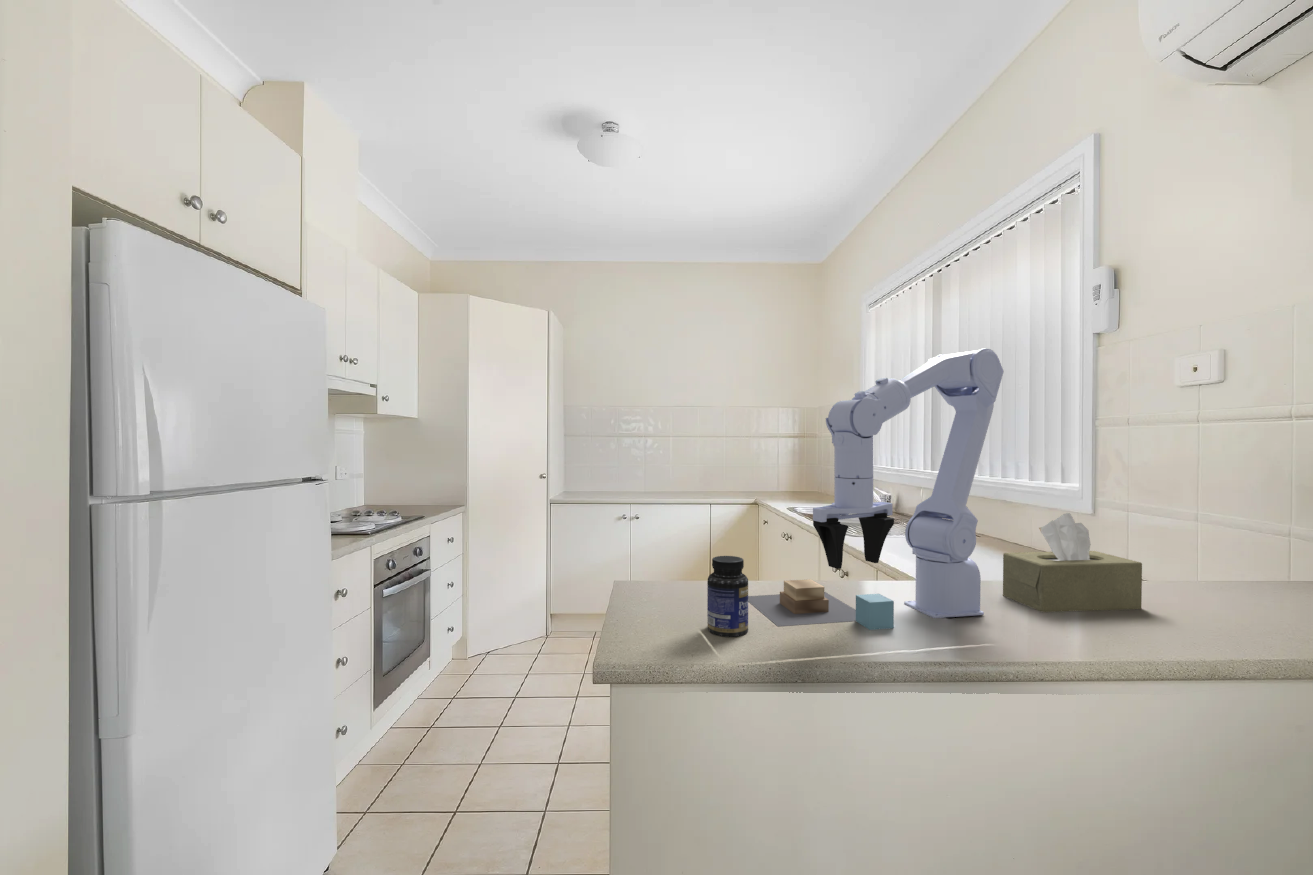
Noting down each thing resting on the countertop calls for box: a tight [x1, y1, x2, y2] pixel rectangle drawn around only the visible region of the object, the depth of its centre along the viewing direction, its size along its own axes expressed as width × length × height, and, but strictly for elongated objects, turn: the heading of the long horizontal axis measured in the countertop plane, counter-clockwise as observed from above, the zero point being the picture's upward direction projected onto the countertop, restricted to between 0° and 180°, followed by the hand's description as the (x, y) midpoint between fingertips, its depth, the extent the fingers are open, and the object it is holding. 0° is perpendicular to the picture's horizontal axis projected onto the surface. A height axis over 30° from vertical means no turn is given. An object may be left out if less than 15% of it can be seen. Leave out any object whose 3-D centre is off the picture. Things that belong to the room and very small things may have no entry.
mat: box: [748, 591, 856, 628], centre depth 99 cm, size 16×16×1 cm
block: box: [855, 593, 895, 631], centre depth 90 cm, size 4×4×4 cm
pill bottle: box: [706, 555, 749, 638], centre depth 88 cm, size 6×6×11 cm
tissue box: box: [1002, 512, 1143, 613], centre depth 103 cm, size 19×10×16 cm, turn 95°
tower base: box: [779, 590, 829, 614], centre depth 99 cm, size 6×6×2 cm
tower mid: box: [783, 578, 825, 601], centre depth 99 cm, size 5×5×2 cm
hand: (853, 564), depth 91 cm, fingers open, 7 cm apart
